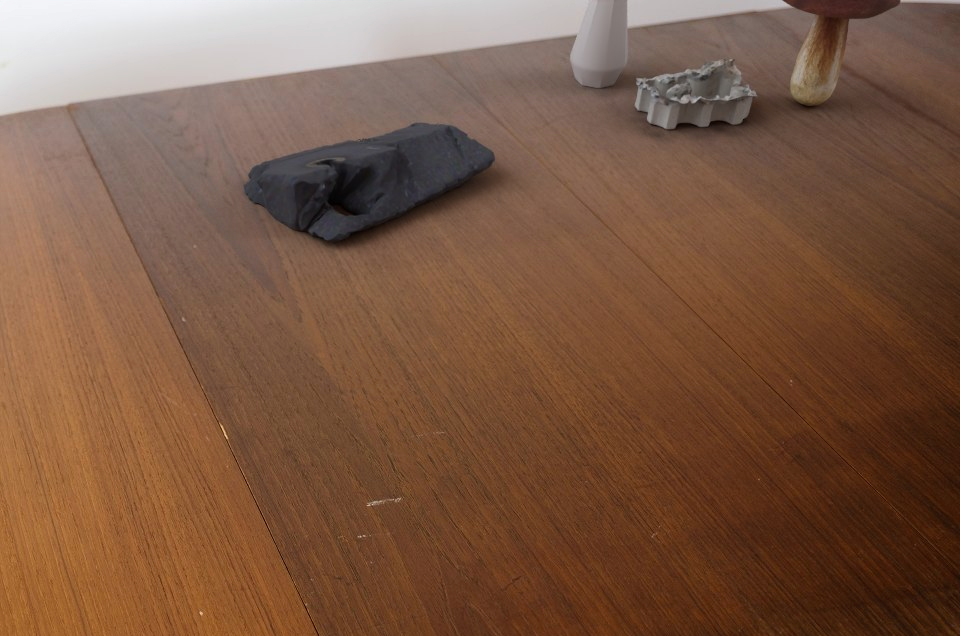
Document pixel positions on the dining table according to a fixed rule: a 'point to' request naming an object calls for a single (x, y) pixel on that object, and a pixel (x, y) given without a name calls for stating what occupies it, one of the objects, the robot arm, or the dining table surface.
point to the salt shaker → (601, 44)
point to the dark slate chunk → (366, 178)
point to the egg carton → (696, 96)
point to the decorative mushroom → (827, 44)
